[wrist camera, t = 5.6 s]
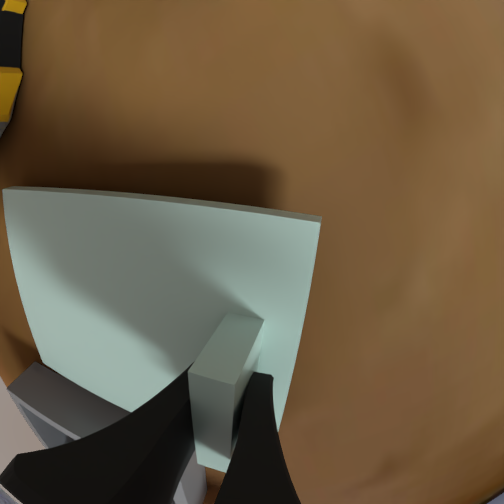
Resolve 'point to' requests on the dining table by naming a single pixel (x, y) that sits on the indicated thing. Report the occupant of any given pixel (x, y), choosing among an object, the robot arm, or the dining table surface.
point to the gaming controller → (10, 56)
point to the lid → (164, 297)
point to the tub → (82, 419)
